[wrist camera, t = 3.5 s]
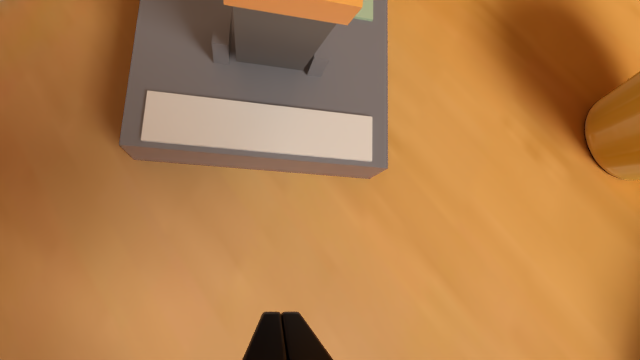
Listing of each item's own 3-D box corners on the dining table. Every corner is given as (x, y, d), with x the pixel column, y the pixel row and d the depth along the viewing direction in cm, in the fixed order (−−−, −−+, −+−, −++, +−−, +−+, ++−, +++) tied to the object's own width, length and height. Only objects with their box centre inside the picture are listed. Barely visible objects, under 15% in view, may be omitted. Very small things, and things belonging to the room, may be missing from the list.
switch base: (369, 178, 24) (402, 159, 20) (134, 159, 21) (105, 132, 17) (370, 12, 27) (400, -42, 22) (159, -26, 24) (140, -96, 19)
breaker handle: (304, 77, 21) (362, 7, 11) (231, 68, 21) (220, -18, 10) (307, 34, 21) (370, -78, 11) (235, 23, 20) (227, -111, 10)
